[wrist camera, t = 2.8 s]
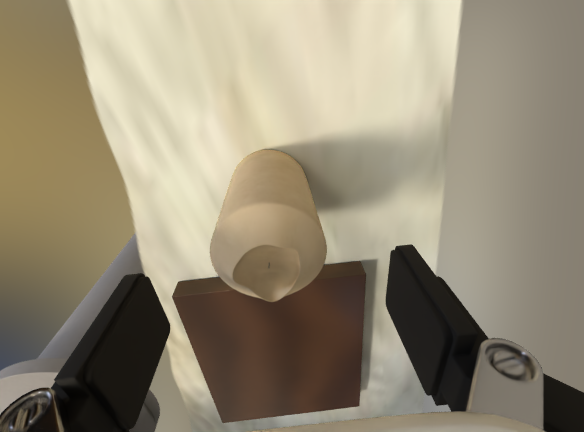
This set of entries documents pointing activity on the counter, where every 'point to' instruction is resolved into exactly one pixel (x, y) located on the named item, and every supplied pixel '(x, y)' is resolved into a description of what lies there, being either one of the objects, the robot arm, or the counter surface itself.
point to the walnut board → (278, 344)
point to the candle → (268, 229)
